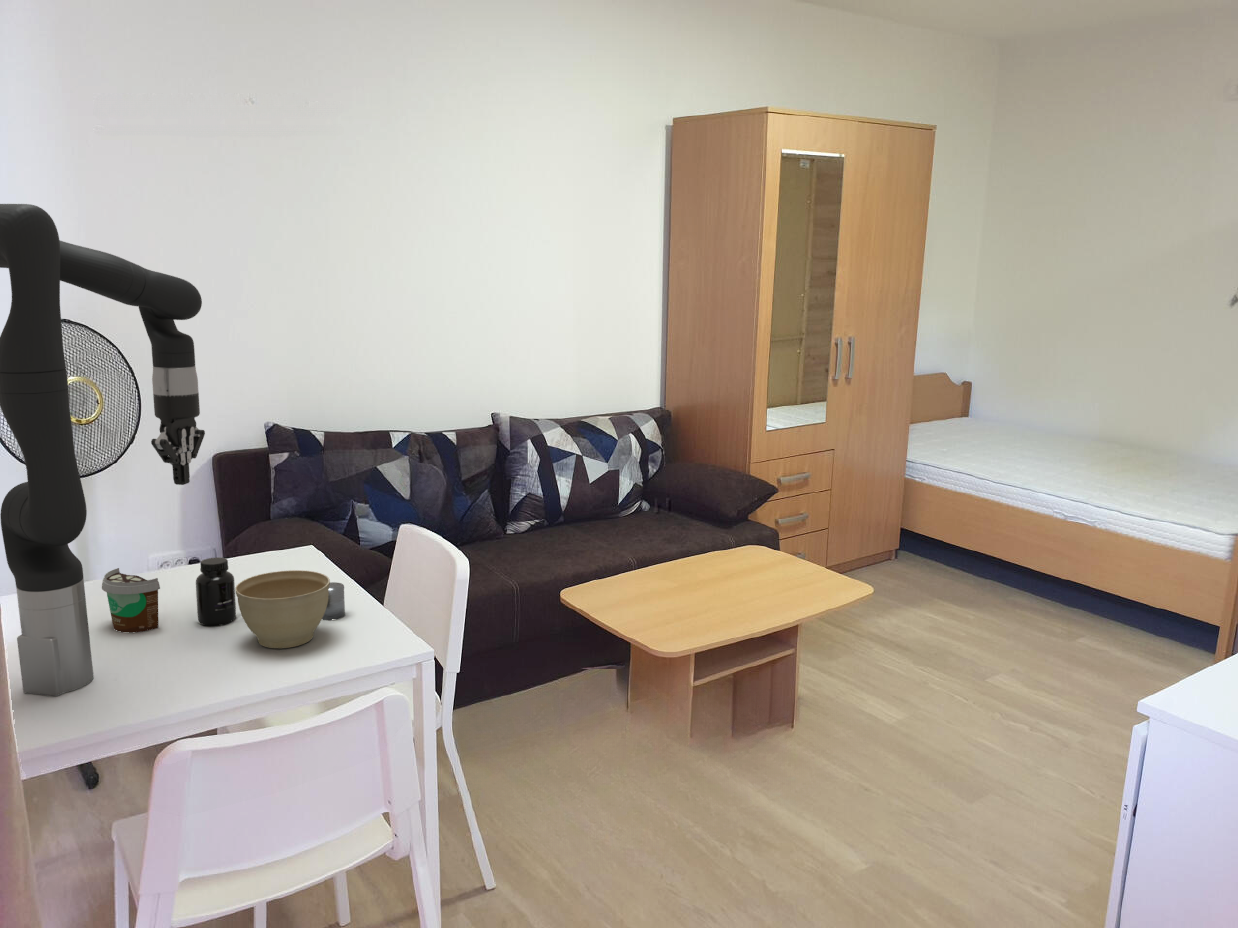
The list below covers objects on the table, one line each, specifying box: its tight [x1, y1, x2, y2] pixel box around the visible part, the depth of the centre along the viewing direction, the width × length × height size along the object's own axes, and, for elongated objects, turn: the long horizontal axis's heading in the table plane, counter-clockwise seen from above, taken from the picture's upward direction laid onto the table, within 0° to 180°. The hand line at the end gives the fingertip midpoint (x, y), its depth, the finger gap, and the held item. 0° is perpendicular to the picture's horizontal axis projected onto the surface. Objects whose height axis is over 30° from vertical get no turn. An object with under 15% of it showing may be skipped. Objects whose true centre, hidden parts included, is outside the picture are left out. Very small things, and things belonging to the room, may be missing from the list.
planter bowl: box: [235, 569, 331, 649], centre depth 170 cm, size 16×16×11 cm
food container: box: [101, 567, 161, 634], centre depth 174 cm, size 12×6×10 cm, turn 62°
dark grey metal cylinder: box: [322, 581, 346, 621], centre depth 183 cm, size 5×5×6 cm
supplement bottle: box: [195, 557, 237, 627], centre depth 178 cm, size 7×7×12 cm
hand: (182, 483), depth 173 cm, fingers closed
